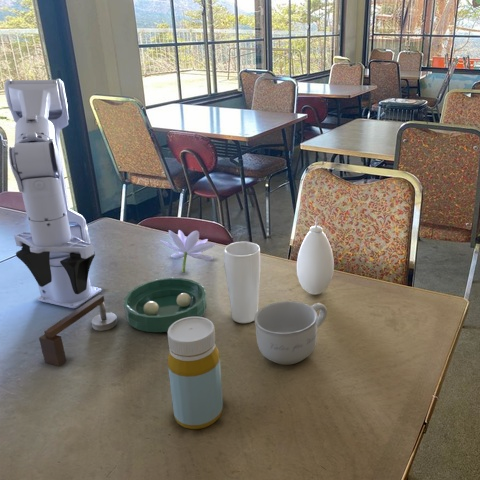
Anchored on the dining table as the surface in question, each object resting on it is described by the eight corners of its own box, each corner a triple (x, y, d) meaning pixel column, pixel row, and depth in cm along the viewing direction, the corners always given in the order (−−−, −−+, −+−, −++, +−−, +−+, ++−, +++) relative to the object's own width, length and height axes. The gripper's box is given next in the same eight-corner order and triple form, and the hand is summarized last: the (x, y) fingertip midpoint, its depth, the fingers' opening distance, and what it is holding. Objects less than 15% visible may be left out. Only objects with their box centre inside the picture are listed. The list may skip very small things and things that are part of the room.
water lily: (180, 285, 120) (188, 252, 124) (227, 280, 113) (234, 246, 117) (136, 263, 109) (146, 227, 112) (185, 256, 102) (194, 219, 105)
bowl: (109, 326, 91) (106, 308, 89) (157, 289, 104) (155, 273, 103) (179, 342, 87) (177, 324, 85) (220, 301, 100) (219, 284, 99)
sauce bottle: (290, 297, 103) (290, 218, 96) (305, 281, 109) (306, 206, 102) (324, 305, 100) (327, 224, 93) (337, 288, 107) (341, 212, 100)
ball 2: (191, 296, 98) (178, 303, 98) (184, 287, 96) (172, 295, 96) (195, 304, 97) (183, 312, 96) (188, 296, 95) (176, 304, 94)
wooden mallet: (103, 316, 94) (98, 288, 92) (122, 320, 93) (117, 292, 90) (41, 361, 81) (33, 330, 78) (62, 367, 80) (55, 336, 77)
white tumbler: (255, 329, 91) (253, 258, 85) (222, 324, 93) (217, 253, 87) (266, 310, 98) (265, 243, 92) (234, 306, 99) (231, 239, 93)
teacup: (269, 380, 78) (268, 339, 75) (246, 344, 87) (245, 306, 84) (343, 357, 84) (345, 318, 81) (315, 326, 93) (316, 289, 90)
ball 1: (141, 300, 93) (139, 314, 92) (151, 302, 91) (149, 317, 91) (152, 299, 95) (150, 313, 95) (162, 302, 94) (160, 316, 94)
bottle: (179, 398, 74) (169, 315, 68) (225, 396, 74) (219, 314, 68) (170, 433, 67) (158, 344, 61) (220, 431, 68) (214, 343, 62)
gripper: (-9, 217, 77) (11, 291, 83) (64, 229, 73) (80, 306, 79) (28, 204, 83) (43, 273, 89) (97, 214, 80) (109, 286, 85)
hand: (63, 287), depth 84 cm, fingers open, 7 cm apart
